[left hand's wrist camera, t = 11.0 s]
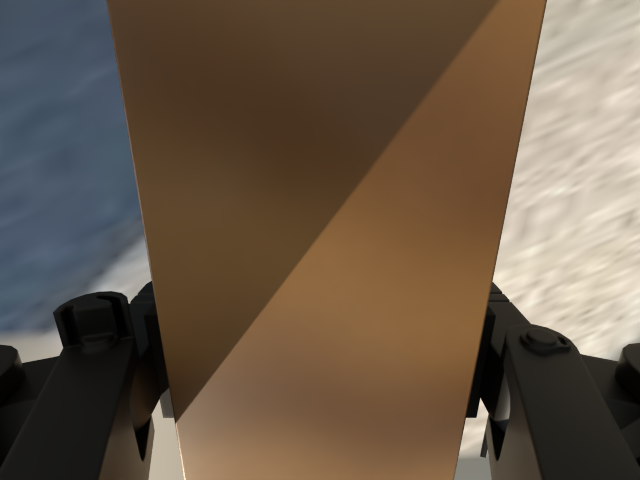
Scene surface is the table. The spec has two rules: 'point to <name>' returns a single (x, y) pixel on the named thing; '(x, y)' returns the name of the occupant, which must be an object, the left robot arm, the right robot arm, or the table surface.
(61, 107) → the table surface
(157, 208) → the post
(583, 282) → the table surface
